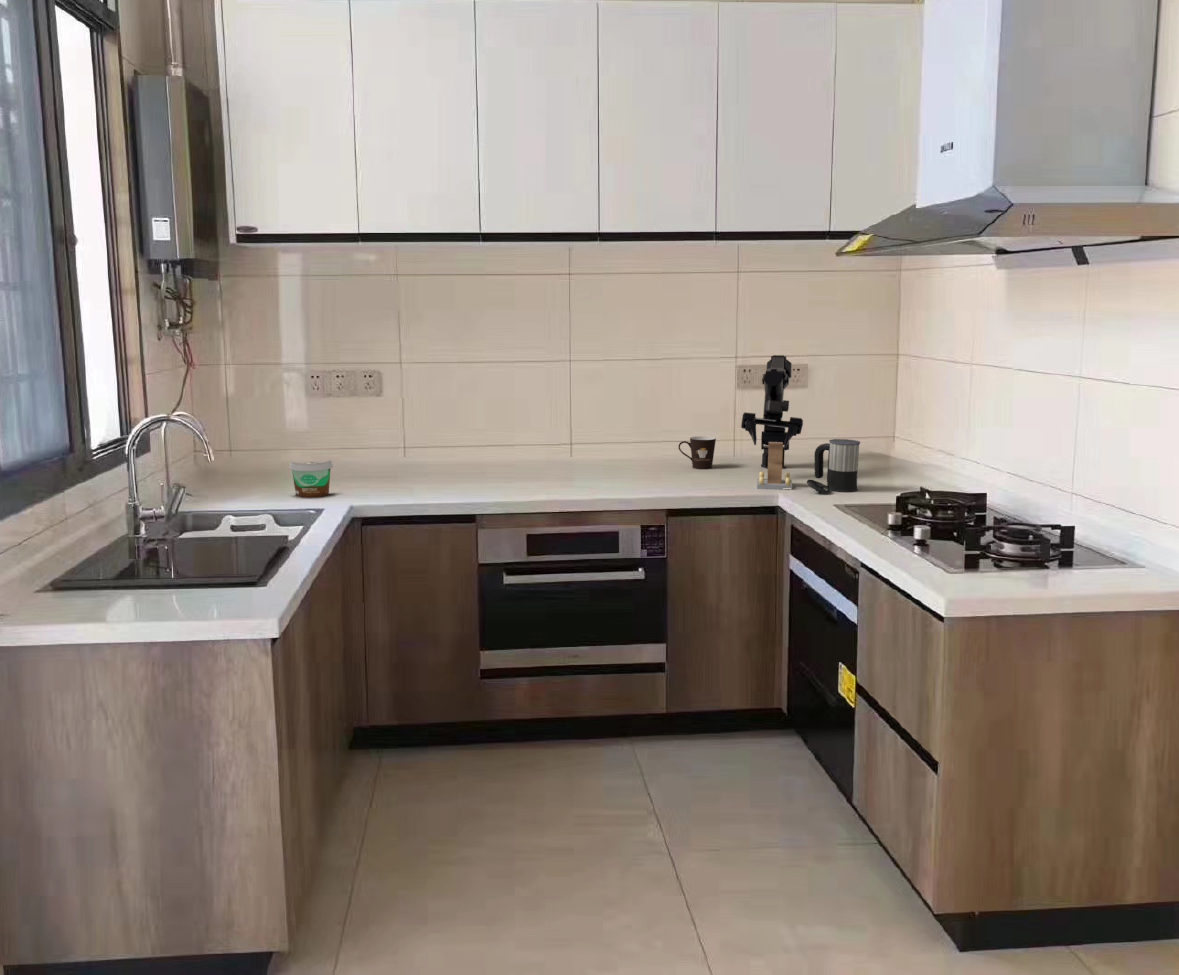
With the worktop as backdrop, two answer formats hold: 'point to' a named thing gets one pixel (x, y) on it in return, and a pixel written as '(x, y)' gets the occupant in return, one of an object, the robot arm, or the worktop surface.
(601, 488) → the worktop surface
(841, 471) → the milk frother
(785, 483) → the peg stand
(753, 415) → the robot arm
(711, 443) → the coffee mug
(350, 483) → the worktop surface
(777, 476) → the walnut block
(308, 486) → the food container
